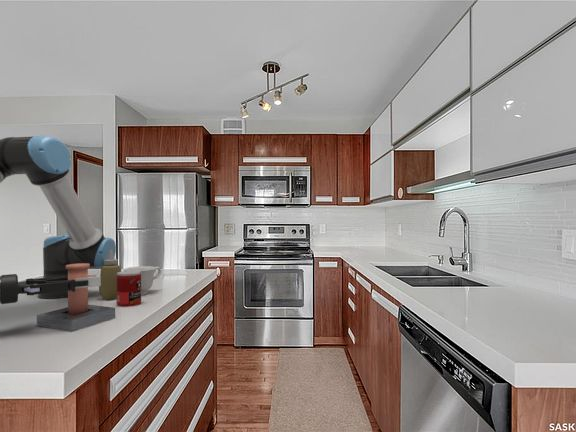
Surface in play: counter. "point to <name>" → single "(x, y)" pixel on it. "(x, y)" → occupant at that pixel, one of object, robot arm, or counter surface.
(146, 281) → the teacup
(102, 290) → the squeeze bottle
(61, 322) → the flange block
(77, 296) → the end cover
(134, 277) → the canned food
